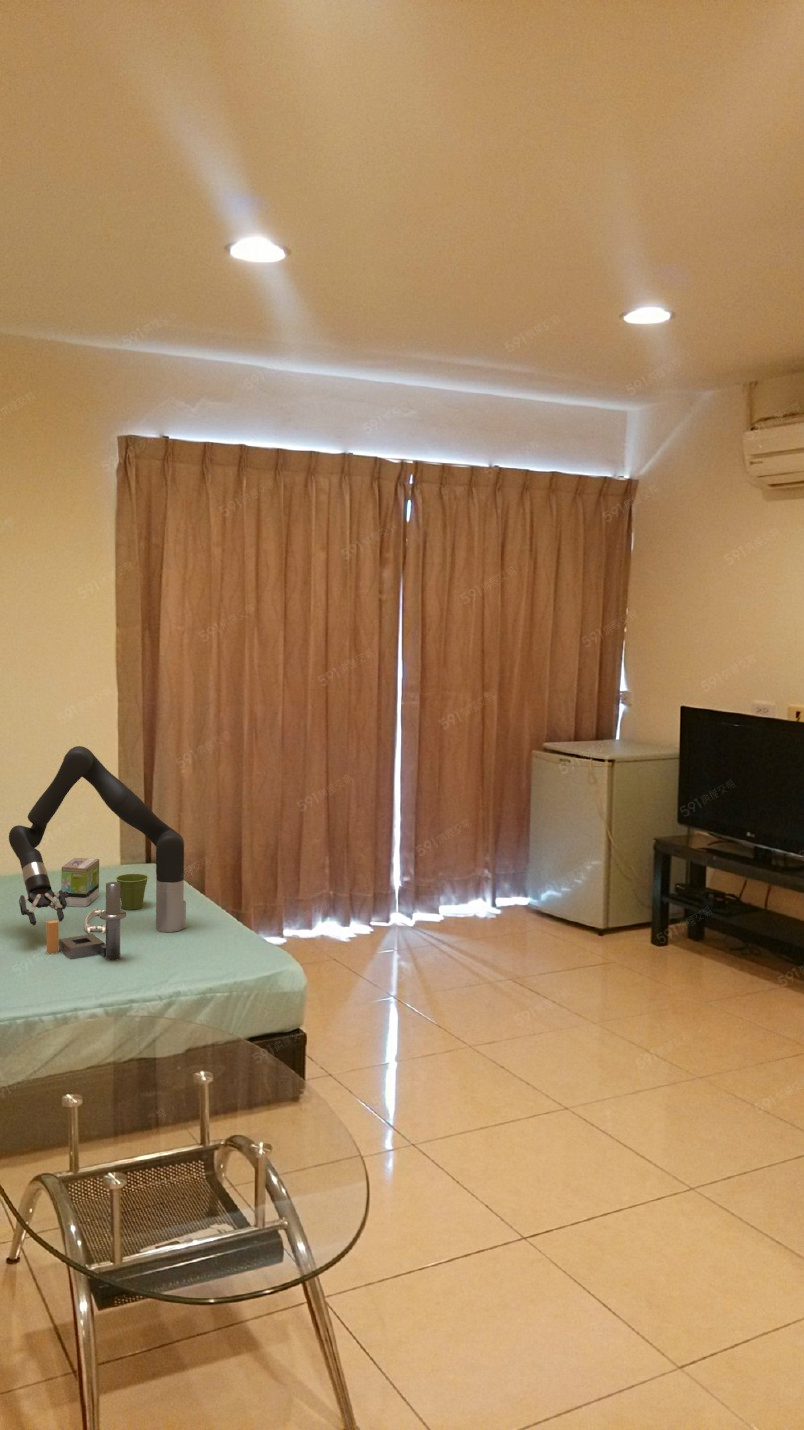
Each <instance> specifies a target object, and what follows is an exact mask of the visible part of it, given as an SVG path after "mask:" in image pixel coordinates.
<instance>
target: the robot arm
mask: <svg viewBox="0 0 804 1430" xmlns="http://www.w3.org/2000/svg"><path fill="white" fill-rule="evenodd" d="M82 778H83V779H84V780H85V781H87V782H88V783H89V784H90V785H91V786H92V787H93V788H94V789H95V790H96V792H97V794H98V795H99V797H100V798H101V800H102V801H103V802H104V804H105V805H106V806H107V807H108V808H109V810H111V811H112V812H113V813H114V814H115V815H116V816H117V817H118V818H119V819H120V820H122V821H123V822H124V823H126V824H128V825H129V826H131V827H132V828H134V829H136V830H137V831H139V832H141V833H142V834H143V835H145V837H147V838H148V839H149V840H150V842H151V843H152V844H153V845H154V846H155V850H156V851H155V875H156V876H155V877H156V879H155V880H156V885H155V888H156V889H155V890H156V891H155V892H156V895H155V897H156V898H155V899H156V902H155V904H156V905H155V929H156V931H158V932H163V933H173V932H179V931H182V930H184V929H186V928H187V927H186V926H187V925H186V924H187V923H186V922H187V921H186V919H187V915H186V914H187V901H186V900H185V899H184V893H185V892H184V890H185V889H184V887H185V886H184V885H185V882H184V881H185V880H184V879H185V841H184V838H183V837H182V836H181V834H180V833H178V832H177V831H176V830H175V829H173V828H172V827H170V826H169V825H168V824H166V823H165V822H163V820H161V819H160V818H159V817H158V816H157V815H156V814H155V813H154V812H153V810H152V809H150V807H149V806H148V805H147V804H146V803H145V802H144V801H143V800H142V799H141V798H140V797H139V796H138V795H136V794H135V792H134V791H133V790H131V789H130V788H129V787H128V786H127V785H125V783H123V782H122V781H121V780H120V779H119V778H117V776H115V775H114V774H112V773H111V772H110V771H109V770H108V769H107V768H106V767H105V766H104V765H103V764H102V762H101V761H100V760H99V759H98V758H97V756H96V755H95V754H94V753H93V752H92V751H91V750H90V749H89V748H88V747H85V746H80V745H77V746H73V747H71V748H70V749H69V750H68V751H67V752H66V753H65V755H64V756H63V761H62V762H61V765H60V767H59V769H58V771H57V773H56V774H55V776H54V778H53V780H52V781H51V783H50V785H49V786H48V787H47V788H46V789H45V791H44V792H43V793H42V794H41V795H40V797H39V798H38V799H37V801H36V802H35V804H34V805H33V806H32V808H31V810H29V813H28V815H27V819H28V821H29V823H31V826H30V827H28V826H24V825H14V826H13V827H12V828H11V829H10V831H9V832H8V833H9V834H8V841H9V845H10V847H11V849H12V851H13V852H14V854H15V856H16V857H17V859H18V860H19V864H20V867H21V871H22V878H23V883H24V885H25V886H24V887H25V889H26V893H27V895H26V896H24V894H21V895H20V897H19V900H18V903H19V909H20V913H21V916H25V915H26V916H28V920H29V924H30V925H31V926H33V927H34V926H36V925H37V918H36V915H35V912H34V910H35V909H36V908H37V909H42V908H48V907H49V908H51V909H53V910H54V911H56V915H57V919H58V922H59V923H61V922H63V920H64V918H65V914H64V911H63V910H66V907H68V906H67V902H66V899H65V897H64V894H63V891H62V890H61V889H60V890H59V891H57V892H54V891H53V889H52V885H51V882H50V879H49V875H48V871H47V869H46V867H45V863H44V860H43V856H42V853H41V851H39V849H36V848H37V847H38V846H39V845H40V844H41V842H42V840H43V837H44V834H45V833H46V829H47V826H48V823H49V822H50V821H51V820H52V819H53V817H54V816H55V814H56V813H57V811H58V809H60V806H61V805H62V803H63V801H64V800H65V798H66V797H67V794H69V792H70V791H71V789H72V788H73V787H74V786H75V784H76V783H78V782H79V780H80V779H82ZM55 898H56V899H57V900H56V899H55ZM27 901H28V902H29V903H30V904H31V906H30V907H29V909H28V908H27V904H26V903H27Z"/></svg>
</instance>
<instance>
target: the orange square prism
mask: <svg viewBox="0 0 804 1430" xmlns="http://www.w3.org/2000/svg"><path fill="white" fill-rule="evenodd" d="M45 923H46V953H47V952H48V953H49V955H52V954H51V953H54V954H57V953H56V952H60V950H59V939H60V935H59V933H60V929H59V927H60V926H59V925H60V924H59V923H60V922H59V920H56V919H55V920H53V919H52V920H49V921H47V920H46V922H45ZM48 953H47V954H48Z"/></svg>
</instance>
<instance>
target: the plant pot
mask: <svg viewBox="0 0 804 1430" xmlns="http://www.w3.org/2000/svg"><path fill="white" fill-rule="evenodd" d="M149 878H150V877H149V875H147V874H144V873H143V874H142V873H124V874H120V875H118V876H116V877H115V881H116V882H119V883H120V905H121V908H122V909H124V910H126V911H127V910H128V911H129V910H139V909H141V908H143V905H144V898H145V893H146V887H147V883H148V879H149Z"/></svg>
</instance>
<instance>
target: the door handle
mask: <svg viewBox="0 0 804 1430" xmlns="http://www.w3.org/2000/svg"><path fill="white" fill-rule="evenodd" d="M103 911H106V909H102V910H101V909H99V907H96V908H93V909H92V910H90V912H89V913H88V914H87V915H86V917H85V919H84V924H83V926H84V931H85V932H86V933H87V934H92V933H91V932H94V933H95V932H96V931H97V932H99V933H100V932H101V933H100V934H101V935H104V934H106V923H105V924H103V925H101V926H100V925H97V926H96V925H93V926H91V924H88V922H89V921H90V919H92V918H93V917H96V916H100V913H101V912H103Z"/></svg>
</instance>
